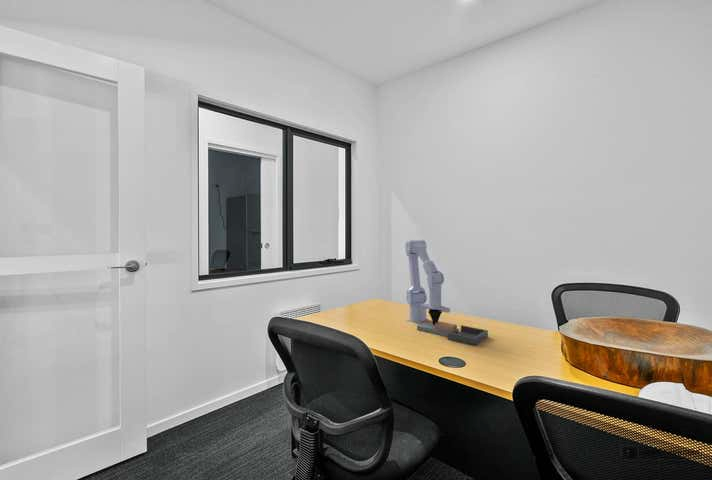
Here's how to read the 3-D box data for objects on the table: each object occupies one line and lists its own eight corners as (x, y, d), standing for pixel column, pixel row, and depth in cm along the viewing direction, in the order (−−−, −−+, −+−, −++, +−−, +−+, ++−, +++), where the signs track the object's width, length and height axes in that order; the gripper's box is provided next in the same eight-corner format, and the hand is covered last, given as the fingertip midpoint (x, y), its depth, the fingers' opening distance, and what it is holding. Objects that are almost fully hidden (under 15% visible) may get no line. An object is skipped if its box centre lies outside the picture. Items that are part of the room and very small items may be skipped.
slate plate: (425, 326, 169) (425, 322, 169) (458, 333, 157) (458, 329, 157) (417, 329, 163) (417, 325, 163) (451, 337, 151) (451, 333, 151)
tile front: (447, 328, 158) (447, 322, 158) (456, 329, 155) (456, 324, 155) (443, 330, 155) (443, 325, 155) (452, 332, 152) (452, 326, 152)
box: (461, 331, 159) (461, 325, 159) (487, 336, 151) (487, 330, 151) (447, 339, 148) (447, 332, 148) (475, 345, 140) (475, 338, 140)
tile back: (439, 326, 161) (439, 321, 161) (447, 327, 158) (447, 322, 158) (435, 328, 158) (435, 323, 158) (443, 330, 155) (443, 324, 155)
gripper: (417, 296, 162) (418, 323, 162) (445, 300, 152) (445, 329, 153) (425, 294, 167) (425, 320, 167) (452, 298, 157) (452, 326, 158)
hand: (435, 324), depth 160 cm, fingers closed
